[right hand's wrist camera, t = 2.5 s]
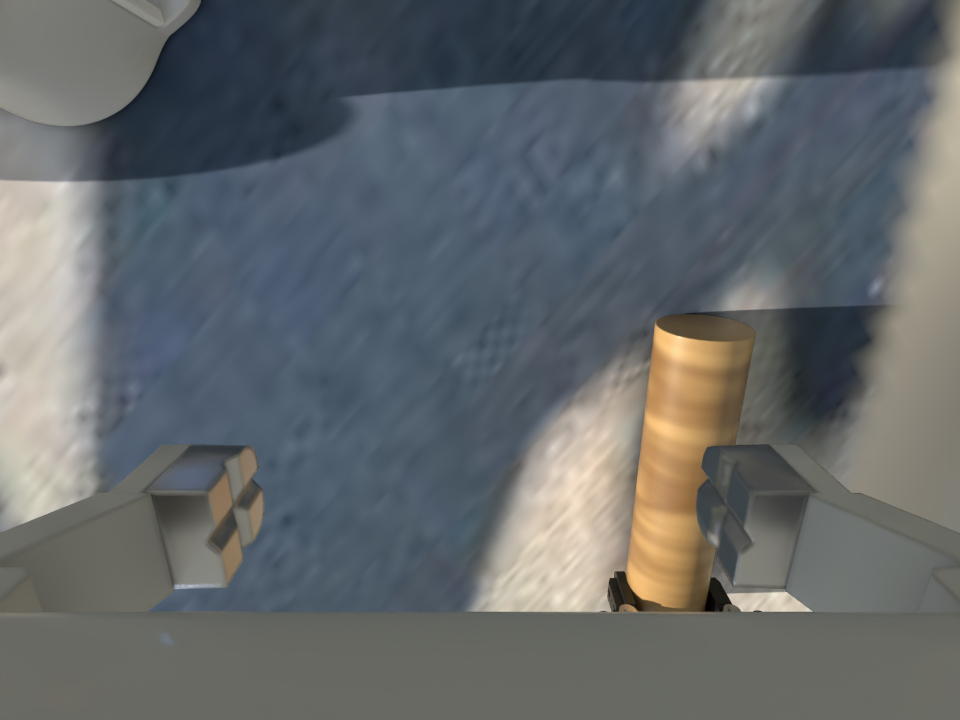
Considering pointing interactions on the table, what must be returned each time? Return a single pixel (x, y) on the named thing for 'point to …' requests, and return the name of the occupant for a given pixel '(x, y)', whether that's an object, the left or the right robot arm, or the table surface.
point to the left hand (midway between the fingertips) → (659, 580)
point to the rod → (683, 454)
